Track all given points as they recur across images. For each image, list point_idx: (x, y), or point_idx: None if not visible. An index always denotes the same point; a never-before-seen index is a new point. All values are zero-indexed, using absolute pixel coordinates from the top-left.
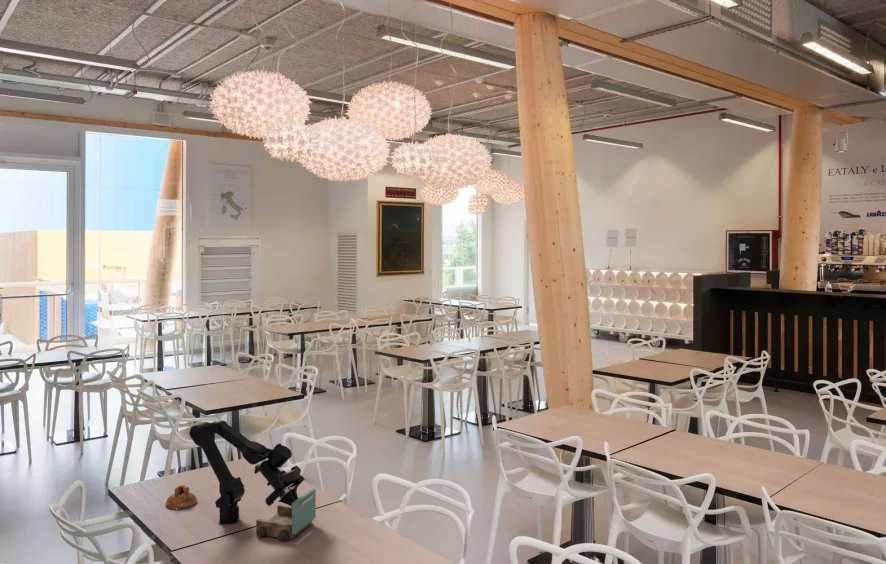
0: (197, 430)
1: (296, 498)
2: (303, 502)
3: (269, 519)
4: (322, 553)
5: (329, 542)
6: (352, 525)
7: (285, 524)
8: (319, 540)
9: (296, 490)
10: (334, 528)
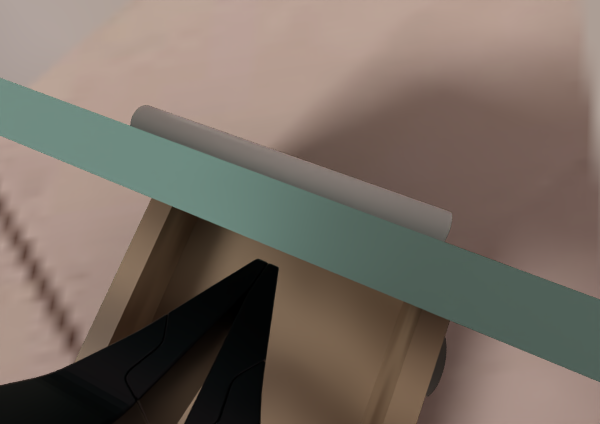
0: None
1: (196, 338)
2: (398, 198)
3: None
4: (556, 110)
5: (424, 96)
6: (233, 21)
7: (425, 370)
8: (401, 147)
9: (12, 391)
10: (261, 96)
